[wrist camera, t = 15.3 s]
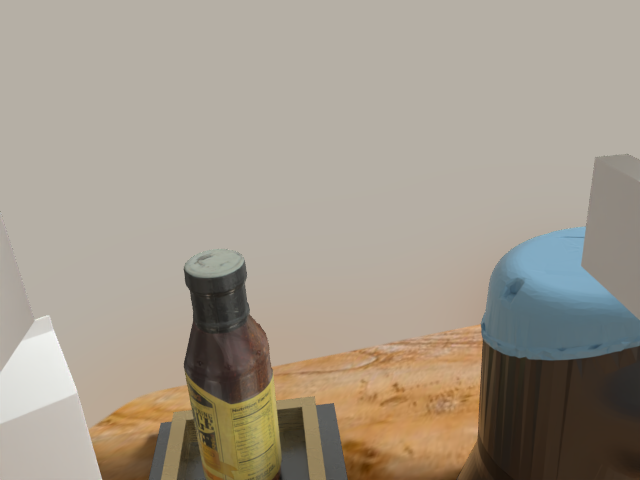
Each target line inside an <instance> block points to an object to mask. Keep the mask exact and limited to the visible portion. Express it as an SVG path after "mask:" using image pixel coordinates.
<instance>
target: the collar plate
mask: <svg viewBox="0 0 640 480" xmlns="http://www.w3.org/2000/svg"><path fill="white" fill-rule="evenodd" d="M276 407H277V416H278V426H279V436H280V446H281V455H282V461H281V472H280V478H279V480H348V479H347V474H346V468H345V463H344V457H343V452H342V446H341V441H340V435H339V430H338V424H337V419H336V413H335V407H334V403H332V404H324V405H316V403H315V396H314V397H305V398H296V399H287V400H278V401H276ZM149 480H207V479H206V478H205V475H204V471H203V466H202V460H201V455H200V450H199V444H198V439H197V434H196V429H195V423H194V417H193V413H192V410H190V411H181V412H174V414H173V419H172V422H165V423H161V425H160V430H159V434H158V439H157V444H156V448H155V453H154V458H153V462H152V467H151V471H150V476H149Z"/></svg>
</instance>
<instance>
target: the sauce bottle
mask: <svg viewBox="0 0 640 480" xmlns="http://www.w3.org/2000/svg"><path fill="white" fill-rule="evenodd" d="M184 273H185V282H186V285H187V287H188V288H189V290H190V294H191V301H192V306H193V324H192V329H191V333H190V338H189V343H188V347H187V353H186V357H185V361H184V369H185V375H186V381H187V386H188V391H189V396H190V402H191V407H192V413H193V417H194V423H195V429H196V434H197V439H198V444H199V450H200V455H201V460H202V466H203V471H204V475H205V478H206V479H207V480H279V478H280V472H281V461H282V455H281V446H280V436H279V426H278V416H277V407H276V397H275V387H274V378H273V369H272V368H271V363H270V355H269V344H268V340H267V337H266V333H265V332H264V330H263V329H262V328H261V326H260V324H258V323H256V321H255V320H254V319H253V318H252V317H251V316H250V314H249V313H250V309H249V304H248V303H247V297H246V289H245V281H246V277H247V272H246V266H245V260H244V258H243V257H242V255H241V254H240V253H238V252H236V251H233V250H227V249H216V250H209V251H205V252H202V253H199V254H197V255H195V256H193V257H192V258H191V259H190V260H188V261H187V263H185V266H184Z"/></svg>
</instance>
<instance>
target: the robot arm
mask: <svg viewBox="0 0 640 480" xmlns="http://www.w3.org/2000/svg"><path fill="white" fill-rule="evenodd" d="M34 321H35V320H34V316H33V313H32V310H31V307H30V304H29V301H28V298H27V295H26V291H25V288H24V285H23V281H22V278H21V275H20V272H19V269H18V265H17V262H16V259H15V256H14V253H13V249H12V246H11V243H10V240H9V236H8V233H7V230H6V227H5V224H4V220H3V218H2V214H1V211H0V373H1V371H2V370H3V368H4V367H5V365H6V364H7V362H8V361H9V359H10V357H11V356H12V354H13V353H14V351H15V350H16V348H17V347H18V345H19V344H20V342H21V341H22V339H23V338H24V336H25V335H26V333H27V332H28V330H29V329H30V327H31V326H32V324H33V323H34ZM481 328H482V331H481V332H482V337H483V348H482V367H481V385H480V403H479V422H478V424H479V426H478V439H477V442H476V444H475V446H474V448H473V449H472V451H471V453H470V455H469V457H468V459H467V461H466V463H465V465H464V467H463V469H462V471H461V473H460V474H459V476H458V477H457V479H456V480H640V160H639V159H637V158H635V157H633V156H631V155H629V154H625V155H613V156H603V157H595V163H594V171H593V178H592V186H591V193H590V201H589V208H588V216H587V223H586V227H576V228H570V229H564V230H559V231H554V232H551V233H549V234H544V235H541V236H537V237H534V238H532V239H529V240H527V241H525V242H523V243H521V244H519V245H518V246H516V247H514V248H513V249H512V250H510V251H509V252H508V253H507V254H505V255H504V256H503V257H502V258H501V259H500V261H499V262H498V263H497V265H496V266H495V268H494V270H493V272H492V275H491V278H490V282H489V289H488V297H487V304H486V312H485V314H484V316H483V318H482V322H481Z"/></svg>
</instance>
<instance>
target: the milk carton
mask: <svg viewBox="0 0 640 480" xmlns="http://www.w3.org/2000/svg"><path fill="white" fill-rule="evenodd" d="M0 480H102V477H101V473H100V470H99V466H98V463H97V459H96V456H95V452H94V449H93V445H92V442H91V438H90V435H89V431H88V428H87V425H86V421H85V418H84V414H83V410H82V407H81V403H80V399H79V396H78V392H77V389H76V387H75V384H74V381H73V379H72V376H71V374H70V371H69V368H68V366H67V363H66V361H65V358H64V355H63V353H62V350H61V348H60V345H59V342H58V340H57V337H56V335H55V332H54V329H53V326H52V322H51V319H50V316H48V315H47V316H44V317H41V318H38V319H35V321H34V323H33V324H32V326H31V327H30V329H29V330H28V332H27V333H26V335H25V336H24V338H23V339H22V341H21V342H20V344H19V345H18V347H17V348H16V350H15V351H14V353H13V354H12V356H11V357H10V359H9V361H8V362H7V364H6V365H5V367H4V368H3V370H2V371H1V373H0Z"/></svg>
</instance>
